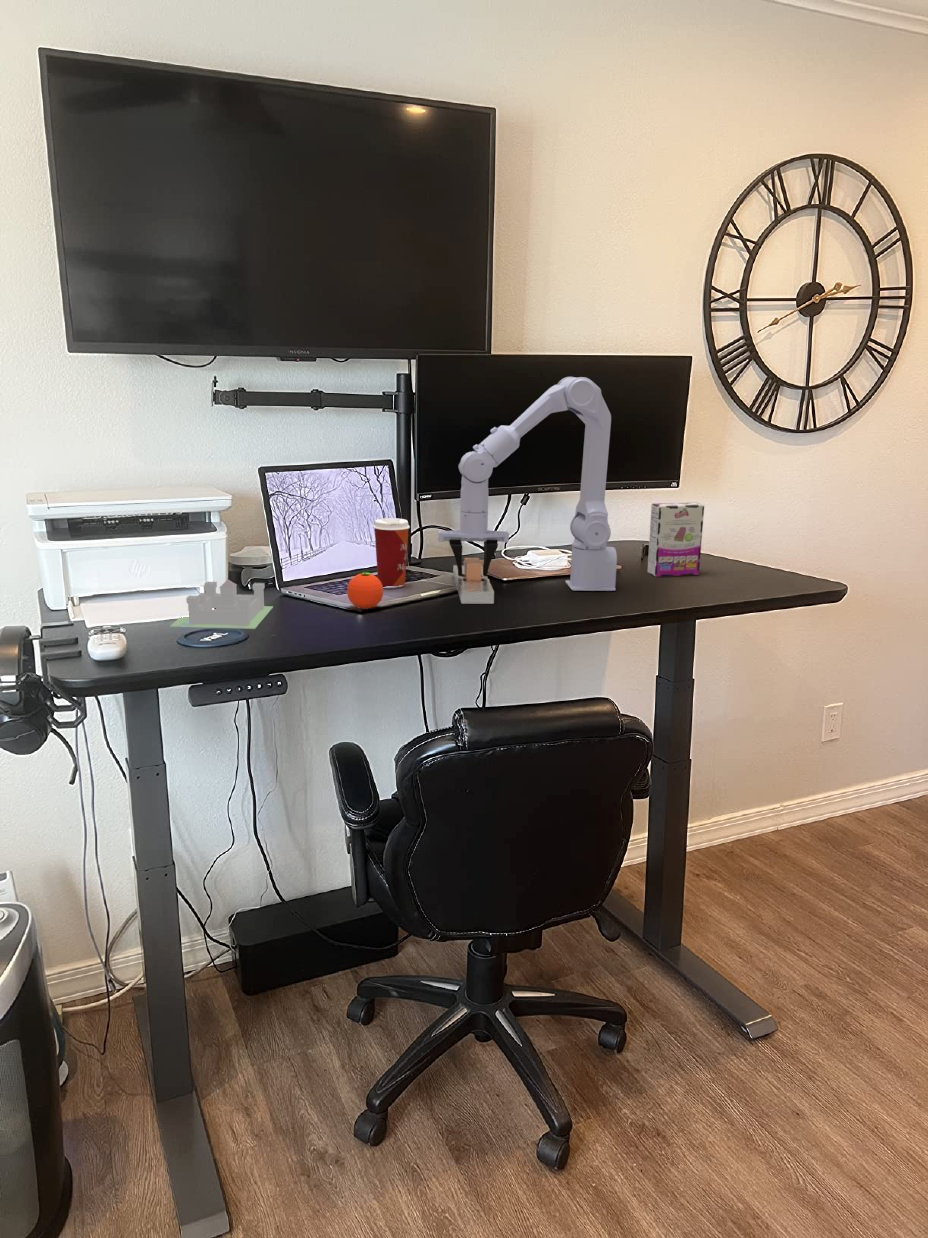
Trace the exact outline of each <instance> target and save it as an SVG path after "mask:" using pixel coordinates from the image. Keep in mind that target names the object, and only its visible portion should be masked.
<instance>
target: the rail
mask: <svg viewBox="0 0 928 1238" xmlns="http://www.w3.org/2000/svg"><path fill="white" fill-rule="evenodd" d="M452 567H453V570H452V577H453V576H454V577H453V580H454V579H455V581H454V583H455V582H456V584H457V587H456V589H457V588H458V590H457V593H458V596H459V601H460V603H461V604H463V605H465V604H466V605H468V604H470V605H471V604H472V605H473V604H474V605H475V604H478V605H479V604H480V605H482V604H483V605H485V604H486V605H487V604H488V605H489V604H491V605H492V604H494V603H495V590H494V589H493V586H492V584H491V581H490V580H489V578H488V575H487V576H483V565H482V564H481V581H466V578H465V577H464V564H462V576H458V568H457V564H454V565H453V566H452ZM456 584H455V585H456Z"/></svg>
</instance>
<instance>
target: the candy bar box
mask: <svg viewBox="0 0 928 1238" xmlns="http://www.w3.org/2000/svg"><path fill="white" fill-rule="evenodd" d="M650 509H651V511H650V525H649V537H648V538H649V539H648V556H647V573H648V575H651V576H654V577H656V578H659V577H662V578H663V577H686V576H688V577H689V576H699V574H700V565H701V563H700V562H701V551H702V540H703V539H702V538H703V527H704V513H705V505H704V504H702V503H699V502H666V503H665V502H663V503H661V502H660V503H656V502H655V503H651V508H650Z"/></svg>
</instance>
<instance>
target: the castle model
mask: <svg viewBox="0 0 928 1238" xmlns="http://www.w3.org/2000/svg"><path fill="white" fill-rule="evenodd" d="M217 583H218V582H217V581H208V580H207V581H206V582H205V583H204V585H203V586H204V589H205V592H200V593H199V594H198V595H188V596H187V597H186V604H187V607H188V608H187V609H188V610H187V611H189V617H183V618H182V617H181V616H180V617H181V618H180V617H178V618H177V619H176V620H175V621H174V622H173V623H172V624H170V625H169V628H201V629H202V628H203V629H204V628H205V629H206V628H207V629H246V630H247V629H248V630H249V629H250V630H256V628H257V627H258V626H259V624H260V623H261V622H262V621H263V620H264V618H265V617H267V615H268V614H269V612H270V611H271V610H272V609H273V607H274V606H273V605H272V606H271V605H270V606H269V605H268V606H267V605H265V596H264V595H265V594H264V593H265V592H264V589H265V587H266V586H265V582H254V583H253V584H252V591H253V594H241V593H239V594H237V592H238V591H237V586H238V584H237V583H235V582H233V581H231V580H230V579H227V580H225V582H223V584H222V585H220V586H219V591H220V593H217V587H218V584H217ZM212 608H216V609H214V610H212Z"/></svg>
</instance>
